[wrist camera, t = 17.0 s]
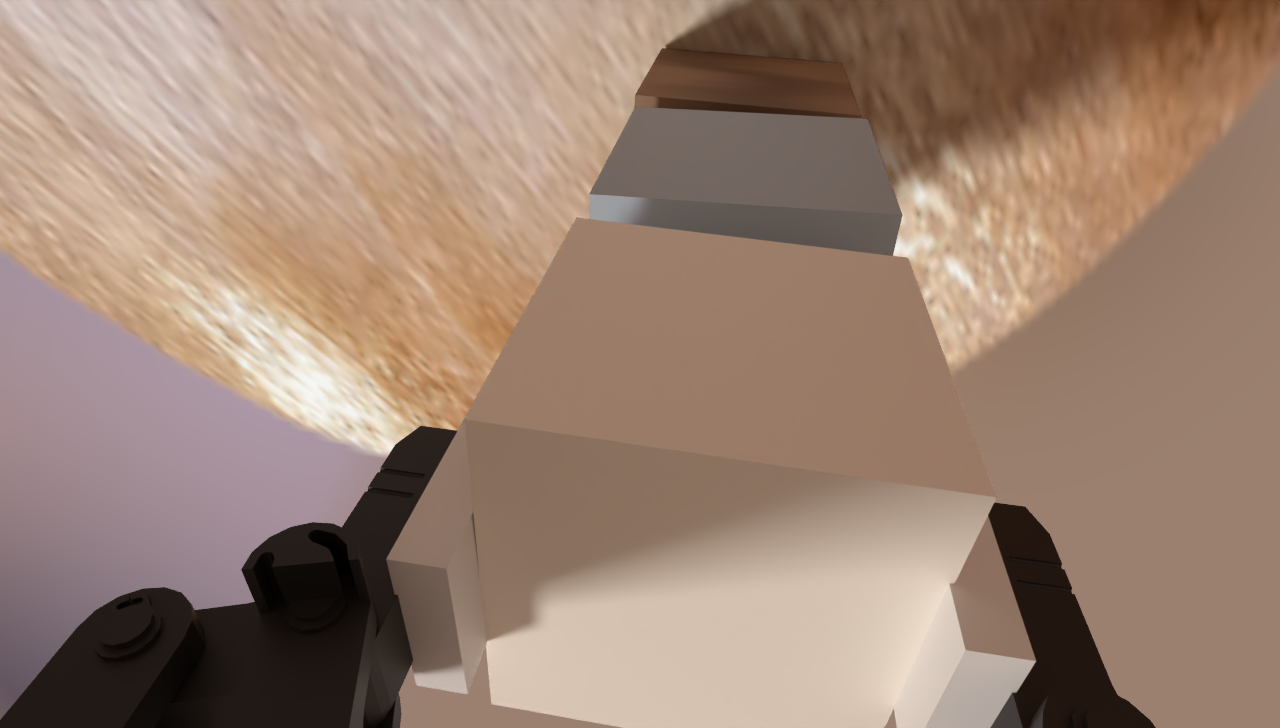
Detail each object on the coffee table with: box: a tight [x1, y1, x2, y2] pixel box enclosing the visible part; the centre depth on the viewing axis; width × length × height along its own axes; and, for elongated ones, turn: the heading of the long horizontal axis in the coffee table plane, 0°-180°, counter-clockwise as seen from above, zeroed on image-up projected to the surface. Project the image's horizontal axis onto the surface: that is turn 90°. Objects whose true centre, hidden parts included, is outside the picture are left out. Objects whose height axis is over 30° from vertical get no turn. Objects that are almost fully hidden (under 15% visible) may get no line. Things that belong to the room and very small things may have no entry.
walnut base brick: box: [635, 48, 861, 118], centre depth 23 cm, size 6×6×6 cm
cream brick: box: [464, 218, 997, 728], centre depth 12 cm, size 6×6×6 cm
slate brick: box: [589, 107, 902, 256], centre depth 18 cm, size 6×6×6 cm
